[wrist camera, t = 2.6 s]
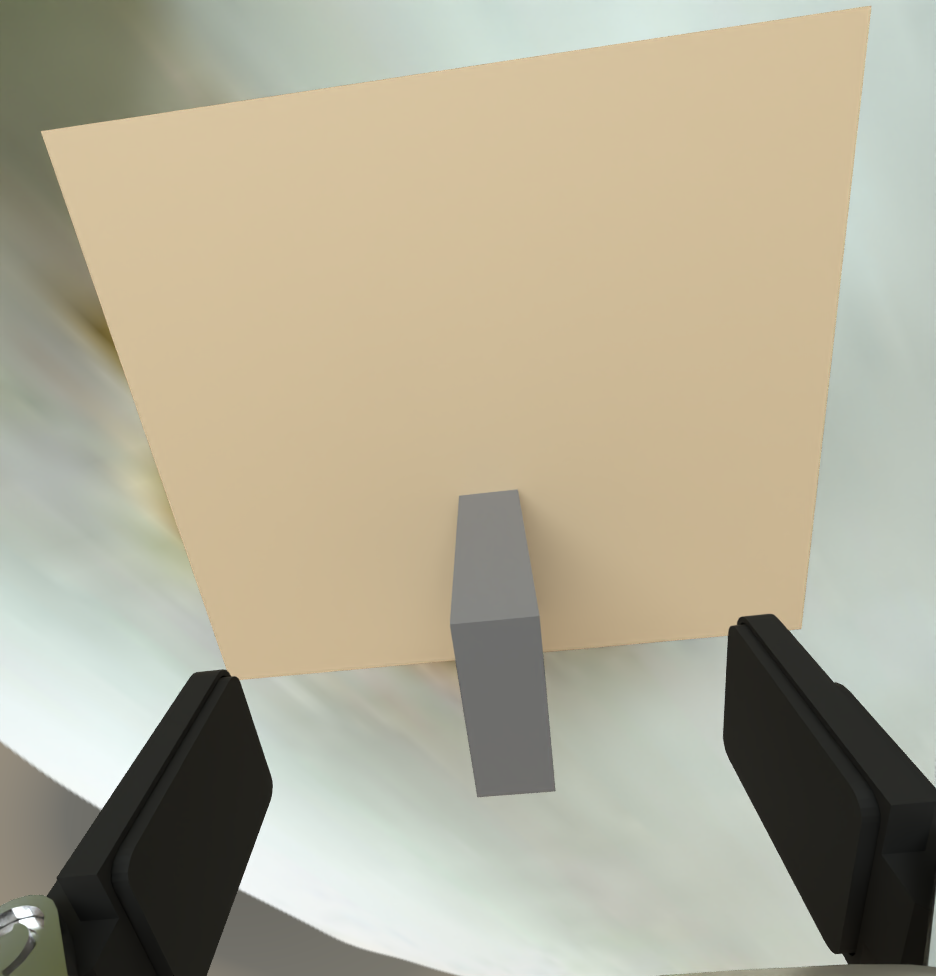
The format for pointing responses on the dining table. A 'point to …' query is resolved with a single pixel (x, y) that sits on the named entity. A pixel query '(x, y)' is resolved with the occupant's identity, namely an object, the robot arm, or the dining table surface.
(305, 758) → the dining table surface
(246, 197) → the lid flap
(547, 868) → the dining table surface
